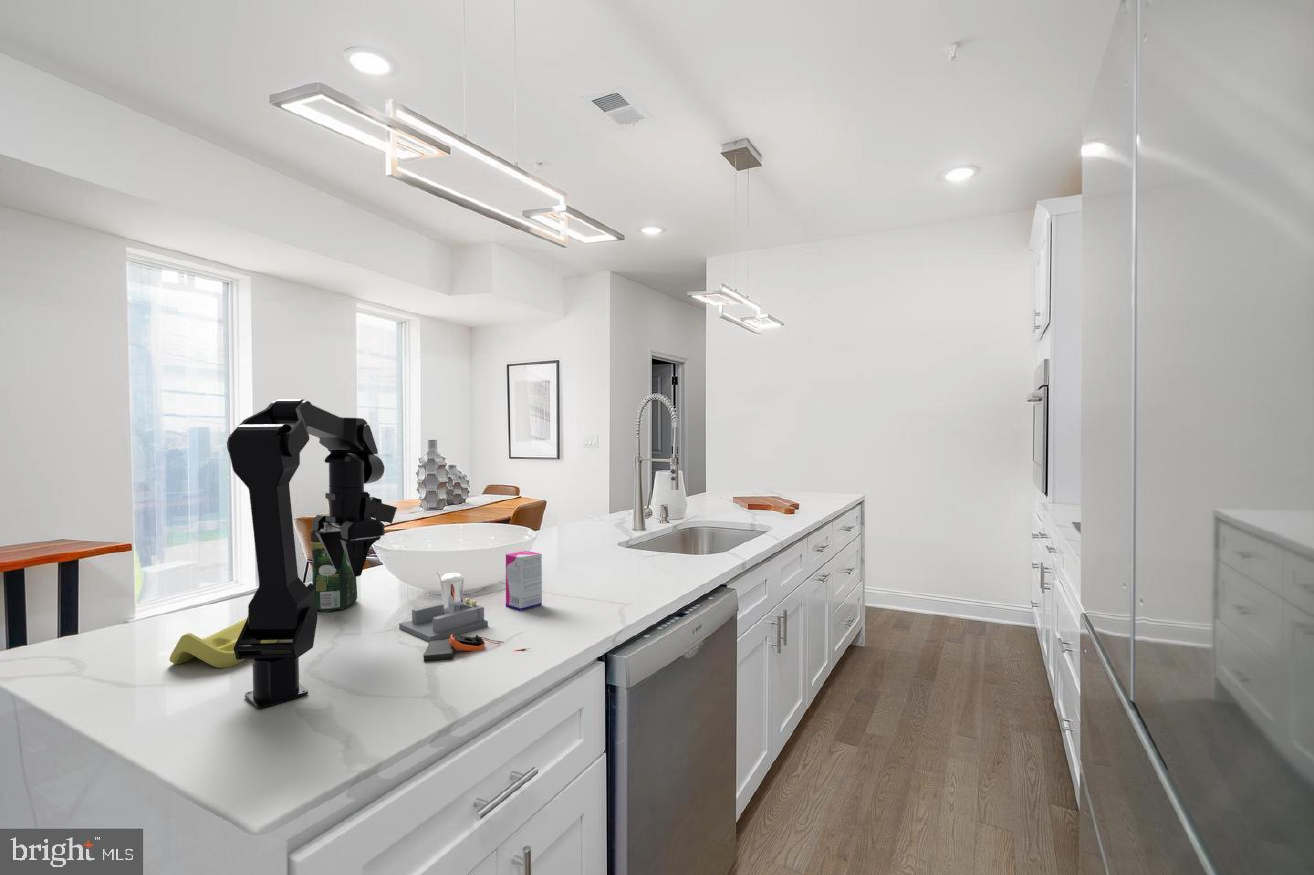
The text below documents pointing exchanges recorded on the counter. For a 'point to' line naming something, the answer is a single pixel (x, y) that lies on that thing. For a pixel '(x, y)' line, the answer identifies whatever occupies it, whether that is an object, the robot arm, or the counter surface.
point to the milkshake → (452, 592)
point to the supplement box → (523, 580)
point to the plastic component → (211, 647)
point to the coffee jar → (331, 579)
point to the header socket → (444, 621)
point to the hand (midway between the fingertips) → (347, 572)
